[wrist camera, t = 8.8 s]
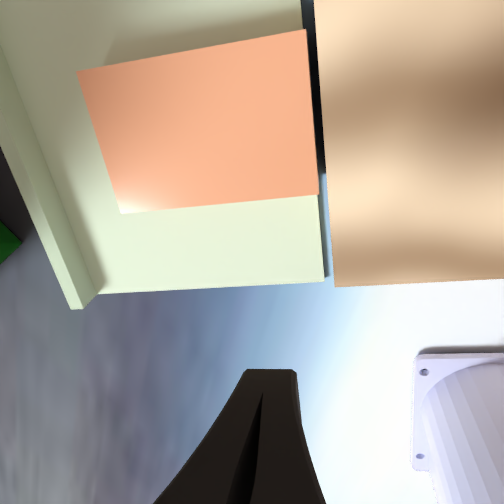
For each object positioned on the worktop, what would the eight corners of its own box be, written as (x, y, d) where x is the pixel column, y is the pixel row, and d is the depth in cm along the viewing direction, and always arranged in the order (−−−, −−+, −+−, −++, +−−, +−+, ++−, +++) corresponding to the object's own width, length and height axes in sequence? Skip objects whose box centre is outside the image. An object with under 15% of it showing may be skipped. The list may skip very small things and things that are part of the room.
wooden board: (605, 243, 17) (647, 271, 15) (333, 261, 20) (334, 287, 18) (719, -186, 11) (816, -244, 9) (307, -85, 14) (305, -111, 12)
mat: (324, 278, 20) (324, 297, 19) (87, 291, 23) (70, 309, 22) (290, -117, 13) (286, -140, 12) (-41, -29, 16) (-79, -38, 15)
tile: (318, 180, 18) (319, 194, 16) (138, 199, 20) (121, 213, 18) (307, 31, 15) (305, 28, 13) (100, 69, 17) (75, 71, 15)
